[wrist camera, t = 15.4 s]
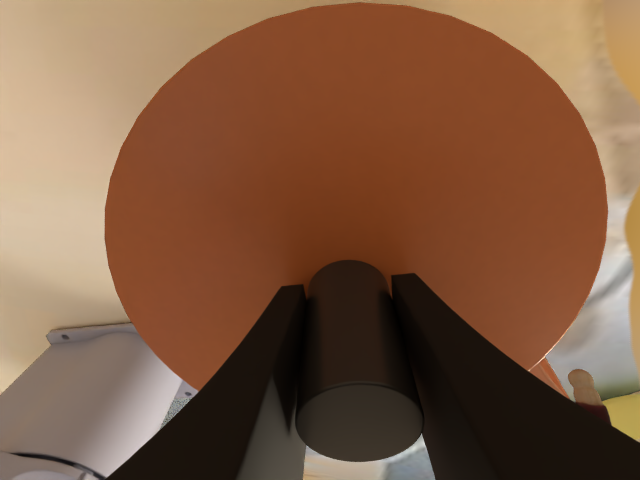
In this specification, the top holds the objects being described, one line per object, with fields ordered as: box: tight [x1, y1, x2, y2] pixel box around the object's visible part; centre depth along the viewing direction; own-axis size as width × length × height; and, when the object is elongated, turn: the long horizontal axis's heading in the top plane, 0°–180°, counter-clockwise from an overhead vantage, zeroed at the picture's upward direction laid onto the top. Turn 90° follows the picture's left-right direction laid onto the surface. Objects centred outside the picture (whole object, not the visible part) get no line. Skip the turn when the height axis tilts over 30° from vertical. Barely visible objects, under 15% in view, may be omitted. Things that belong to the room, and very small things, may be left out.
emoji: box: [602, 391, 640, 442], centre depth 26 cm, size 4×12×12 cm
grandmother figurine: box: [529, 357, 612, 425], centre depth 18 cm, size 8×4×13 cm, turn 3°
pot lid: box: [105, 2, 608, 462], centre depth 8 cm, size 14×14×5 cm
